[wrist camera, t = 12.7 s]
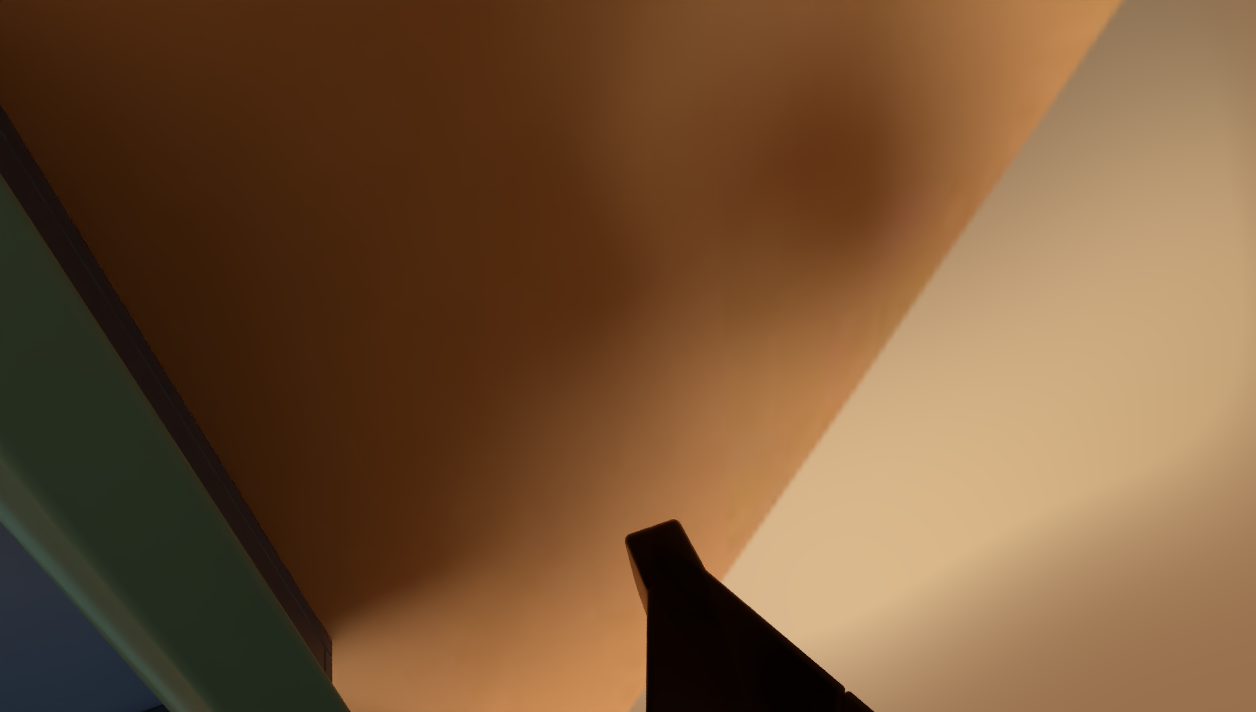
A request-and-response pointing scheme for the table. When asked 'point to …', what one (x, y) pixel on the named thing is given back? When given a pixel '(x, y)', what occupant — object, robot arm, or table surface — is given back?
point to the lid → (129, 508)
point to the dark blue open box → (21, 590)
